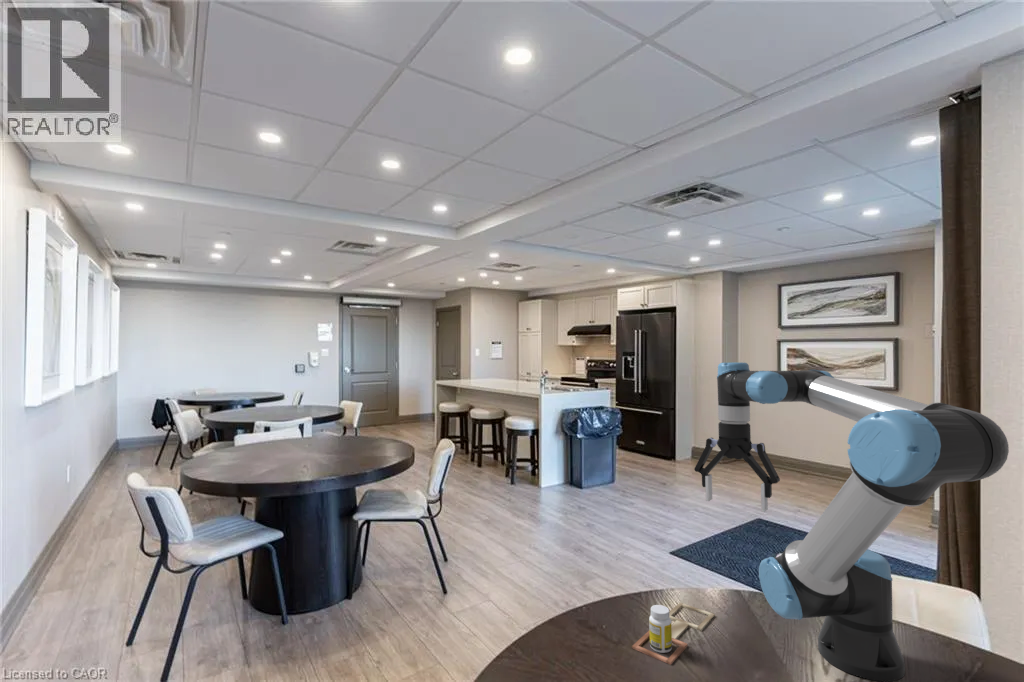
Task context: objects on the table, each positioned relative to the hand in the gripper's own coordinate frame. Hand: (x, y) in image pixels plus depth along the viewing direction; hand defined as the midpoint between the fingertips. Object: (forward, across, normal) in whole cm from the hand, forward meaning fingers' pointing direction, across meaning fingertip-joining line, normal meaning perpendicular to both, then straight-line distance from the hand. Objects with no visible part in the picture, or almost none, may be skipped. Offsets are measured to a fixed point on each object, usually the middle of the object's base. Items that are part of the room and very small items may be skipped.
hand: (735, 505), depth 126 cm
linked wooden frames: (+27, +8, +20) cm, 34 cm away
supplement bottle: (+27, +8, +28) cm, 40 cm away
